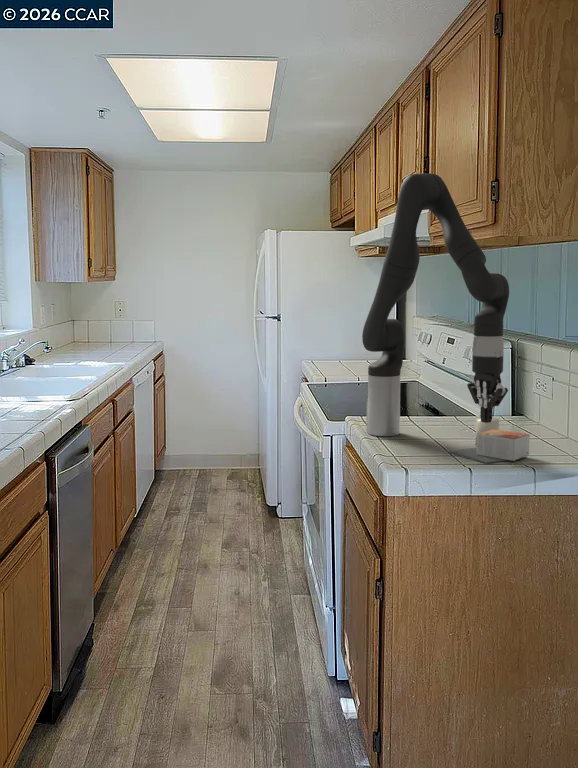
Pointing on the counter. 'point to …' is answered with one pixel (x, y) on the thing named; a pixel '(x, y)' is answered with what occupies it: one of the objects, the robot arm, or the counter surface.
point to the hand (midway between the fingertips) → (486, 422)
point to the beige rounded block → (486, 426)
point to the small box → (503, 444)
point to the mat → (477, 456)
